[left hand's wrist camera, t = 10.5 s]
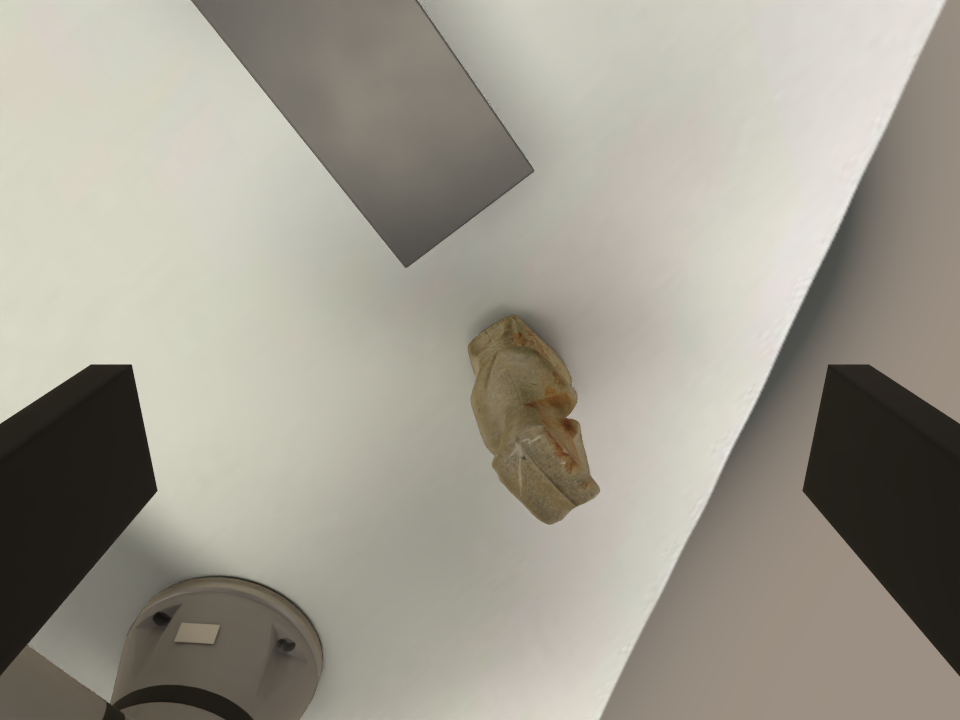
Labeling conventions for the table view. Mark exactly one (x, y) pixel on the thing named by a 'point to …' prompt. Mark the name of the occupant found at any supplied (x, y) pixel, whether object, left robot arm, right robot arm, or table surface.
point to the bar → (378, 109)
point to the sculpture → (529, 420)
